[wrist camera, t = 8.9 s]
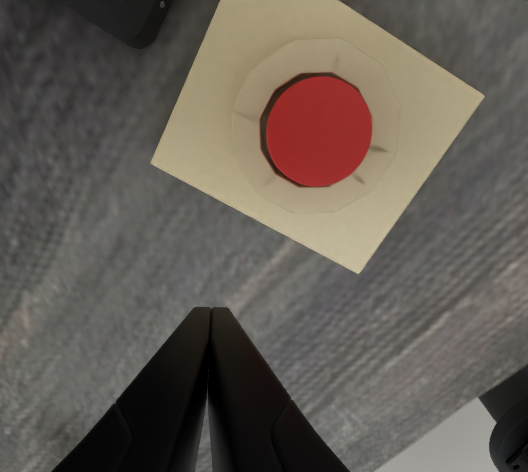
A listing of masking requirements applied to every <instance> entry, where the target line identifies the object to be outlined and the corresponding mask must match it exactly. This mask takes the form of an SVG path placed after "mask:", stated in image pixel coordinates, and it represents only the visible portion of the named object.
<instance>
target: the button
mask: <svg viewBox="0 0 528 472" xmlns="http://www.w3.org/2000/svg"><path fill="white" fill-rule="evenodd" d="M371 138H372V119H371V115H370V111H369V108H368V106H367V104H366V102H365V100H364V99H363V97H362V96H361V95H360V93H359V92H358V91H357V90H356V89H355V88H354V87H352V86H351V85H349V84H348V83H346V82H344V81H342V80H340V79H337V78H333V77H328V76H317V77H311V78H307V79H304V80H301V81H299V82H297V83H295V84H293V85H292V86H291V87H289V88H288V89H287V90H286V91H285V92H284V93H282V94H281V96H280V97H279V98H278V99H277V101H276V102H275V104H274V106H273V107H272V110H271V112H270V114H269V118H268V121H267V127H266V141H267V147H268V151H269V153H270V156H271V158H272V160H273V162H274V163H275V165H276V166H277V168H278V169H279V170H280V171H281V172H282V173H283V174H284V175H285V176H286V177H288V178H289V179H291V180H293V181H295V182H297V183H299V184H302V185H306V186H316V187H318V186H327V185H331V184H334V183H337V182H339V181H341V180H343V179H344V178H346V177H347V176H349V175H350V174H351V173H352V172H354V171H355V170H356V169H357V167H358V166H359V165H360V164H361V162H362V161H363V159H364V158H365V156H366V154H367V152H368V149H369V147H370V143H371Z"/></svg>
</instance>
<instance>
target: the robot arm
mask: <svg viewBox="0 0 528 472" xmlns="http://www.w3.org/2000/svg"><path fill="white" fill-rule="evenodd" d="M208 369H209V372H208ZM207 390H208V415H209V428H210V441H211V453H212V466H213V472H350V471H349V470H348V469H347V468H346V466H345V465H344V464H343V463H342V462H341V461H340V460H339V459H338V457H337V456H336V455H335V454H334V453H333V452H332V450H331V449H330V448H329V447H328V446H327V444H326V443H325V442H324V441H323V440H322V439H321V437H320V436H319V435H318V434H317V433H316V431H315V430H314V429H313V427H312V426H311V425H310V423H309V422H308V421H307V419H306V418H305V417H304V415H303V414H302V412H301V411H300V410H299V408H298V407H297V405H296V404H295V402H294V401H293V400H291V397H290V395H289V394H288V393H287V391H286V390H285V388H284V387H283V385H282V384H281V383H280V381H279V380H278V378H277V377H276V375H275V374H274V373H273V371H272V370H271V368H270V367H269V365H268V364H267V363H266V361H265V360H264V358H263V357H262V355H261V354H260V353H259V351H258V350H257V348H256V347H255V345H254V344H253V342H252V341H251V340H250V338H249V337H248V335H247V334H246V332H245V331H244V330H243V328H242V327H241V325H240V324H239V322H238V321H237V320H236V318H235V317H234V315H233V314H232V312H231V311H230V310H229V308H227V307H213V308H212V310H211V308H209V307H195V308H193V309H192V311H191V312H190V313H189V314H188V315H187V317H186V318H185V319H184V320H183V321H182V323H181V324H180V325H179V326H178V327H177V329H176V330H175V331H174V332H173V333H172V335H171V336H170V337H169V338H168V339H167V341H166V342H165V343H164V344H163V345H162V347H161V348H160V349H159V350H158V351H157V352H156V354H155V355H154V356H153V357H152V358H151V360H150V361H149V362H148V363H147V364H146V366H145V367H144V368H143V369H142V370H141V372H140V373H139V374H138V375H137V376H136V378H135V379H134V380H133V381H132V382H131V384H130V385H129V386H128V387H127V388H126V390H125V391H124V392H123V393H122V394H121V396H120V397H119V398H118V399H117V400H116V403H115V404H113V405H112V406H111V407H110V408H109V410H108V411H107V412H106V413H105V415H104V416H103V417H102V418H101V419H100V420H99V422H98V423H97V424H96V425H95V426H94V427H93V428H92V429H91V431H90V432H89V433H88V434H87V435H86V436H85V437H84V439H83V440H82V441H81V442H80V443H79V444H78V445H77V446H76V447H75V448H74V449H73V450H72V451H71V452H70V453H69V454H68V455H67V456H66V457H65V458H64V459H63V460H62V461H61V462H60V463H59V464H58V465H57V466H56V467H55V468H54V469H53V470H52V471H51V472H195V466H196V461H197V455H198V449H199V443H200V437H201V432H202V426H203V420H204V414H205V408H206V401H207ZM506 465H507V466H508V468H509V469H510V470H511V471H512V472H528V441H527V442H526V443H524V444H523V445H522V446H521V447H520V448H519V449H518V450H517V451H516V452H515V453H514V454H513V455H511V456H510V457H509V458H508V459H507V460H506Z"/></svg>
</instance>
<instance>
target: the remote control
mask: <svg viewBox="0 0 528 472" xmlns="http://www.w3.org/2000/svg"><path fill="white" fill-rule="evenodd" d="M58 1H60V2H62V3H63V4H65V5H66V6H68V7H69V8H71V9H72V10H74V11H76V12H77V13H79V14H80V15H82V16H83V17H85V18H86V19H88V20H90V21H91V22H93V23H94V24H96V25H97V26H99V27H100V28H102V29H103V30H105V31H107V32H108V33H110V34H111V35H113V36H114V37H116V38H117V39H119V40H121V41H122V42H124V43H125V44H127V45H128V46H130V47H134V48H137V49H141V48H144V47H147V46H149V44H150V43H151V42H152V41H153V40H154V38H155V36H156V34H157V32H158V30H159V28H160V25H161V23H162V21H163V19H164V16H165V14H166V12H167V10H168V7H169V5H170V3H171V1H172V0H58Z"/></svg>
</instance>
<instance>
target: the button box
mask: <svg viewBox="0 0 528 472" xmlns="http://www.w3.org/2000/svg"><path fill="white" fill-rule="evenodd" d="M317 76H328V77H333V78H337V79H340V80H342V81H344V82H346V83H348V84H349V85H351V86H352V87H354V88H355V89H356V90H357V91H358V92H359V93H360V95H361V96H362V97H363V99H364V100H365V102H366V104H367V106H368V108H369V111H370V115H371V119H372V138H371V143H370V147H369V149H368V152H367V154H366V156H365V158H364V159H363V161H362V162H361V164H360V165H359V166H358V167H357V169H356V170H355V171H354V172H352V173H351V174H350V175H349V176H347V177H346V178H344V179H343V180H341V181H339V182H337V183H334V184H331V185H327V186H318V187H316V186H306V185H302V184H299V183H297V182H295V181H293V180H291V179H289V178H288V177H286V176H285V175H284V174H283V173H282V172H281V171H280V170H279V169H278V168H277V166H276V165H275V163H274V162H273V160H272V158H271V156H270V153H269V151H268V147H267V141H266V127H267V121H268V118H269V114H270V112H271V110H272V107H273V106H274V104H275V102H276V101H277V99H278V98H279V97H280V96H281V94H282V93H284V92H285V91H286V90H287V89H288V88H289V87H291V86H292V85H293V84H295V83H297V82H299V81H301V80H304V79H307V78H311V77H317ZM484 97H485V96H484V95H483V94H482V93H480V92H479V91H477V90H476V89H474V88H473V87H471V86H469V85H468V84H466V83H465V82H463V81H462V80H460V79H459V78H457V77H456V76H454V75H453V74H451V73H450V72H448V71H446V70H445V69H443V68H442V67H440V66H439V65H437V64H436V63H434V62H433V61H431V60H430V59H428V58H426V57H425V56H423V55H422V54H420V53H419V52H417V51H416V50H414V49H413V48H411V47H410V46H408V45H407V44H405V43H403V42H402V41H400V40H399V39H397V38H396V37H394V36H393V35H391V34H390V33H388V32H387V31H385V30H383V29H382V28H380V27H379V26H377V25H376V24H374V23H373V22H371V21H370V20H368V19H367V18H365V17H363V16H362V15H360V14H359V13H357V12H356V11H354V10H353V9H351V8H350V7H348V6H347V5H345V4H344V3H342V2H340V1H339V0H220V2H219V5H218V7H217V9H216V12H215V14H214V16H213V19H212V21H211V23H210V26H209V28H208V30H207V33H206V35H205V37H204V39H203V42H202V44H201V46H200V49H199V51H198V53H197V56H196V58H195V60H194V63H193V65H192V67H191V70H190V72H189V74H188V77H187V79H186V81H185V84H184V86H183V88H182V91H181V93H180V95H179V98H178V100H177V102H176V105H175V107H174V109H173V112H172V114H171V116H170V119H169V121H168V123H167V126H166V128H165V130H164V133H163V135H162V137H161V140H160V142H159V144H158V147H157V149H156V151H155V154H154V156H153V158H152V161H151V164H152V165H154V166H156V167H157V168H159V169H161V170H163V171H165V172H167V173H169V174H171V175H173V176H174V177H176V178H178V179H180V180H182V181H184V182H186V183H188V184H189V185H191V186H193V187H195V188H197V189H199V190H201V191H203V192H205V193H206V194H208V195H210V196H212V197H214V198H216V199H218V200H220V201H221V202H223V203H225V204H227V205H229V206H231V207H233V208H235V209H237V210H238V211H240V212H242V213H244V214H246V215H248V216H250V217H252V218H253V219H255V220H257V221H259V222H261V223H263V224H265V225H267V226H269V227H270V228H272V229H274V230H276V231H278V232H280V233H282V234H284V235H285V236H287V237H289V238H291V239H293V240H295V241H297V242H299V243H301V244H302V245H304V246H306V247H308V248H310V249H312V250H314V251H316V252H317V253H319V254H321V255H323V256H325V257H327V258H329V259H331V260H333V261H334V262H336V263H338V264H340V265H342V266H344V267H346V268H348V269H350V270H351V271H353V272H355V273H357V274H360V272H361V271H362V269H363V268H364V267H365V265H366V264H367V262H368V261H369V259H370V258H371V257H372V255H373V254H374V252H375V251H376V250H377V248H378V247H379V245H380V244H381V243H382V241H383V240H384V238H385V237H386V235H387V234H388V233H389V231H390V230H391V228H392V227H393V226H394V224H395V223H396V221H397V220H398V218H399V217H400V216H401V214H402V213H403V211H404V210H405V209H406V207H407V206H408V204H409V203H410V202H411V200H412V199H413V197H414V196H415V194H416V193H417V192H418V190H419V189H420V187H421V186H422V185H423V183H424V182H425V180H426V179H427V177H428V176H429V175H430V173H431V172H432V170H433V169H434V168H435V166H436V165H437V163H438V162H439V161H440V159H441V158H442V156H443V155H444V153H445V152H446V151H447V149H448V148H449V146H450V145H451V144H452V142H453V141H454V139H455V138H456V137H457V135H458V134H459V132H460V131H461V129H462V128H463V127H464V125H465V124H466V122H467V121H468V120H469V118H470V117H471V115H472V114H473V112H474V111H475V110H476V108H477V107H478V105H479V104H480V103H481V101H482V100H483V98H484Z"/></svg>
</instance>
